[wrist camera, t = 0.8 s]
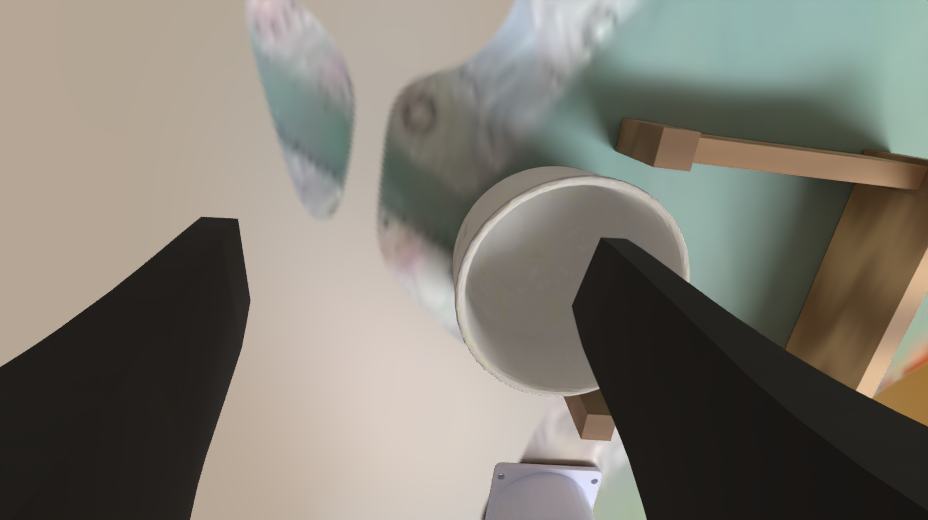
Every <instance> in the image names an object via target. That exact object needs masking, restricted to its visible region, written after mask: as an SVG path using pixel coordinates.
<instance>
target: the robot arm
mask: <svg viewBox="0 0 928 520" xmlns="http://www.w3.org/2000/svg"><path fill="white" fill-rule="evenodd" d="M249 306H250V296H249V288H248V282H247V275H246V269H245V263H244V256H243V250H242V242H241V236H240V230H239V223H238V219H233V218H212V217H201V218H199V219H198V220H197V221H196V222H194V223H193V224H192V225H191V226H189V227H188V228H187V229H186V230H185V231H183V232H182V233H181V234H180V235H179V236H177V237H176V238H175V239H174V240H173V241H171V242H170V243H169V244H168V245H167V246H165V247H164V248H163V249H162V250H161V251H159V252H158V253H157V254H156V255H155V256H153V257H152V258H151V259H150V260H149V261H148V262H146V263H145V264H144V265H142V266H141V267H140V268H139V269H138V270H136V271H135V272H134V273H132V274H131V275H130V276H129V277H127V278H126V279H125V280H124V281H122V282H121V283H120V284H119V285H117V286H116V287H115V288H114V289H113V290H111V291H110V292H109V293H107V294H106V295H104V296H103V297H102V298H100V299H99V300H98V301H96V302H95V303H94V304H92V305H91V306H89V307H88V308H87V309H85V310H84V311H83V312H81V313H80V314H78V315H77V316H76V317H74V318H73V319H72V320H70V321H69V322H68V323H66V324H65V325H63V326H62V327H61V328H59V329H58V330H56V331H55V332H54V333H52V334H51V335H49V336H48V337H46V338H45V339H43V340H42V341H40V342H39V343H37V344H36V345H34V346H33V347H31V348H30V349H28V350H27V351H25V352H23V353H22V354H20V355H19V356H17V357H16V358H14V359H13V360H11V361H9V362H8V363H6V364H5V365H3V366H1V367H0V520H190V517H191V512H192V508H193V504H194V499H195V495H196V490H197V486H198V482H199V479H200V475H201V472H202V468H203V464H204V461H205V458H206V454H207V452H208V449H209V446H210V443H211V440H212V437H213V434H214V430H215V427H216V424H217V421H218V419H219V416H220V412H221V410H222V406H223V403H224V401H225V397H226V395H227V392H228V388H229V385H230V382H231V379H232V376H233V373H234V370H235V367H236V364H237V361H238V357H239V355H240V351H241V348H242V343H243V338H244V333H245V328H246V323H247V317H248V311H249ZM572 310H573V314H574V318H575V322H576V326H577V330H578V334H579V337H580V341H581V344H582V347H583V350H584V352H585V355H586V357H587V360H588V362H589V365H590V367H591V370H592V372H593V374H594V377H595V379H596V381H597V384H598V386H599V388H600V391H601V393H602V395H603V398H604V400H605V403H606V405H607V407H608V410H609V412H610V414H611V417H612V419H613V421H614V424H615V426H616V428H617V431H618V433H619V435H620V438H621V440H622V443H623V445H624V448H625V451H626V453H627V456H628V459H629V462H630V465H631V468H632V471H633V475H634V478H635V481H636V484H637V487H638V491H639V494H640V497H641V500H642V504H643V507H644V511H645V514H646V518H647V520H928V427H927V426H925V425H923V424H921V423H919V422H917V421H915V420H913V419H911V418H909V417H907V416H904V415H903V414H900V413H898V412H896V411H894V410H892V409H890V408H888V407H886V406H885V405H883V404H881V403H879V402H877V401H875V400H873V399H871V398H869V397H867V396H865V395H863V394H862V393H860V392H858V391H856V390H854V389H852V388H850V387H848V386H846V385H845V384H843V383H841V382H839V381H837V380H836V379H834V378H832V377H830V376H828V375H827V374H825V373H823V372H821V371H820V370H818V369H816V368H815V367H813V366H811V365H810V364H808V363H806V362H805V361H803V360H801V359H800V358H798V357H796V356H795V355H793V354H791V353H789V352H788V351H786V350H785V349H783V348H781V347H780V346H778V345H777V344H775V343H774V342H772V341H770V340H769V339H767V338H766V337H764V336H763V335H761V334H760V333H758V332H757V331H755V330H754V329H753V328H751V327H750V326H748V325H747V324H745V323H744V322H742V321H741V320H739V319H738V318H736V317H735V316H733V315H732V314H731V313H729V312H728V311H726V310H725V309H724V308H722V307H721V306H719V305H718V304H717V303H715V302H714V301H713V300H711V299H710V298H708V297H707V296H706V295H704V294H703V293H702V292H700V291H699V290H698V289H696V288H695V287H694V286H692V285H691V284H690V283H688V282H687V281H686V280H684V279H683V278H682V277H680V276H679V275H678V274H676V273H675V272H674V271H672V270H671V269H670V268H668V267H667V266H666V265H664V264H663V263H662V262H660V261H659V260H657V259H656V258H655V257H653V256H652V255H651V254H649V253H648V252H646V251H645V250H643V249H642V248H641V247H639V246H638V245H636V244H634V243H633V242H631V241H630V240H628V239H624V238H605V237H601V238H600V240H599V242H598V245H597V247H596V250H595V252H594V254H593V257H592V259H591V261H590V264H589V266H588V268H587V271H586V273H585V275H584V278H583V280H582V282H581V285H580V287H579V290H578V292H577V294H576V297H575V299H574V301H573V304H572ZM499 474H503V475H499ZM592 479H594V480H592ZM601 479H602V472H601V470H600V469H599V468H597V467H580V466H561V465H541V464H522V463H498V464H497V465H496V466H495V469H494V474H493V479H492V485H491V489H490V495H489V500H488V505H487V511H486V516H485V520H595V517H594V515H593V512H592V509H593V506H594V502H595V499H596V495H597V492H598V489H599V485H600V482H601Z"/></svg>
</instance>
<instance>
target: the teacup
mask: <svg viewBox="0 0 928 520" xmlns="http://www.w3.org/2000/svg"><path fill="white" fill-rule="evenodd" d="M601 237H605V238H624V239H628V240H630V241H631V242H633V243H634V244H636V245H638V246H639V247H641V248H642V249H643V250H645V251H646V252H648V253H649V254H651V255H652V256H653V257H655V258H656V259H657V260H659V261H660V262H662V263H663V264H664V265H666V266H667V267H668V268H670V269H671V270H672V271H674V272H675V273H676V274H678V275H679V276H680V277H682V278H683V279H684V280H686V281H687V282H688V283H689V278H690V269H689V260H688V252H687V247H686V244H685V241H684V238H683V235H682V233H681V230H680V228H679V226H678V225H677V223H676V221H675V220H674V218H673V217H672V215H671V214H670V213H669V212H668V211H667V210H666V209H665V208H664V207H663V206H662V205H661V204H660V203H659V202H658V201H657V200H656V199H655V198H654V197H652V196H651V195H650V194H648V193H647V192H645V191H644V190H642V189H640V188H638V187H637V186H635V185H632V184H630V183H627V182H625V181H621V180H617V179H614V178H610V177H603V176H600V175H597V174H594V173H592V172H588V171H585V170H581V169H576V168H571V167H562V166H545V167H537V168H532V169H528V170H524V171H521V172H519V173H516V174H513V175H511V176H509V177H507V178H505V179H503V180H502V181H500V182H498V183H497V184H495V185H494V186H493V187H491V188H490V189H489V190H488V191H486V192H485V193H484V194H483V195H482V196H481V197H480V198H479V199H478V200H477V202H476V203H475V204H474V205H473V207H472V208H471V209H470V211H469V213H468V214H467V216H466V217H465V219H464V221H463V223H462V225H461V228H460V230H459V233H458V236H457V239H456V243H455V247H454V255H453V280H454V289H455V309H456V316H457V322H458V325H459V328H460V331H461V334H462V337H463V340H464V342H465V344H466V345H467V346H468V349H469V351H470V352H471V353H472V355H473V356H474V358H475V359H476V361H477V362H478V363H480V364H481V366H482V367H483V368H484V369H485V370H487V371H489V372H490V373H491V374H492V375H494V376H495V377H496V378H497V379H498V380H499V381H501V382H504V383H505V384H507V385H509V386H510V387H513V388H515V389H517V390H520V391H523V392H527V393H531V394H536V395H540V396H551V397H559V396H573V395H579V394H583V393H588V392H591V391H594V390H597V389H600V388H599V386H598V384H597V381H596V379H595V377H594V374H593V372H592V370H591V367H590V365H589V362H588V360H587V357H586V355H585V352H584V350H583V347H582V344H581V341H580V337H579V334H578V330H577V326H576V322H575V318H574V314H573V310H572V304H573V301H574V299H575V297H576V294H577V292H578V290H579V287H580V285H581V282H582V280H583V278H584V275H585V273H586V271H587V268H588V266H589V264H590V261H591V259H592V257H593V254H594V252H595V250H596V247H597V245H598V242H599V240H600V238H601Z"/></svg>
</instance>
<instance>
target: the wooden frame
mask: <svg viewBox="0 0 928 520" xmlns="http://www.w3.org/2000/svg"><path fill="white" fill-rule="evenodd" d="M615 151H617V152H619V153H621V154H624V155H626V156H628V157H631V158H633V159H636V160H638V161H640V162H643V163H645V164H648V165H650V166H652V167H658V168H666V169H674V170H683V171H690V169H691V166H692V163H699V164H707V165H715V166H723V167H732V168H740V169H748V170H756V171H764V172H773V173H781V174H789V175H797V176H806V177H814V178H822V179H830V180H838V181H847V182H855V185H854V187H853V190H852V192H851V194H850V197H849V199H848V201H847V204H846V206H845V209H844V211H843V213H842V216H841V218H840V220H839V223H838V225H837V228H836V230H835V232H834V235H833V237H832V239H831V242H830V244H829V246H828V249H827V251H826V254H825V256H824V258H823V261H822V263H821V265H820V268H819V270H818V273H817V275H816V277H815V280H814V282H813V284H812V287H811V289H810V291H809V294H808V296H807V299H806V301H805V303H804V306H803V308H802V310H801V313H800V315H799V318H798V320H797V322H796V325H795V327H794V329H793V332H792V334H791V337H790V339H789V341H788V344H787V346H786V348H785V350H786V351H788V352H789V353H791V354H793V355H795V356H796V357H798V358H800V359H801V360H803V361H805V362H806V363H808V364H810V365H811V366H813V367H815V368H816V369H818V370H820V371H821V372H823V373H825V374H827V375H828V376H830V377H832V378H834V379H836V380H837V381H839V382H841V383H843V384H845V385H846V386H848V387H850V388H852V389H854V390H856V391H858V392H860V393H862V394H863V395H865V396H867V397H869V398H871V399H872V397H873V395H874V393H875V391H876V389H877V387H878V385H879V383H880V381H881V379H882V377H883V376H884V374H885V372H886V370H887V368H888V366H889V364H890V362H891V360H892V358H893V356H894V354H895V352H896V351H897V349H898V347H899V345H900V343H901V341H902V339H903V337H904V335H905V333H906V331H907V329H908V327H909V325H910V324H911V322H912V320H913V318H914V316H915V314H916V312H917V310H918V308H919V306H920V304H921V302H922V300H923V299H924V297H925V295H926V293H927V291H928V159H924V158H919V157H913V156H907V155H901V154H895V153H888V152H881V151H873V150H864V152H863V154H854V153H846V152H838V151H831V150H823V149H815V148H807V147H799V146H792V145H784V144H776V143H768V142H761V141H753V140H745V139H737V138H729V137H722V136H714V135H706V134H701V132H698V131H693V130H689V129H684V128H679V127H675V126H670V125H665V124H661V123H656V122H650V121H642V120H634V119H626V118H623V120H622V125H621V129H620V133H619V137H618V142H617V146H616V150H615ZM564 398H565V401H566V403H567V406H568V408H569V411H570V413H571V416H572V418H573V421H574V423H575V425H576V428H577V430H578V433H579V435H580V438H581V439H586V440H603V441H611V438H612V434H613V431H614V427H615V424H614V421H613V419H612V417H611V414H610V412H609V410H608V407H607V405H606V403H605V400H604V398H603V395H602V393H601V391H600V389H597V390H594V391H591V392H588V393H583V394H579V395H573V396H564Z"/></svg>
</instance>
